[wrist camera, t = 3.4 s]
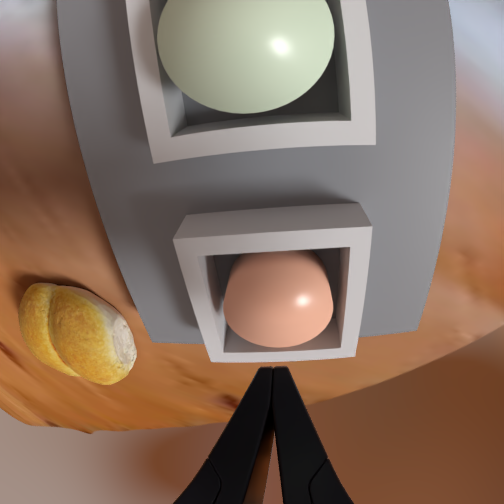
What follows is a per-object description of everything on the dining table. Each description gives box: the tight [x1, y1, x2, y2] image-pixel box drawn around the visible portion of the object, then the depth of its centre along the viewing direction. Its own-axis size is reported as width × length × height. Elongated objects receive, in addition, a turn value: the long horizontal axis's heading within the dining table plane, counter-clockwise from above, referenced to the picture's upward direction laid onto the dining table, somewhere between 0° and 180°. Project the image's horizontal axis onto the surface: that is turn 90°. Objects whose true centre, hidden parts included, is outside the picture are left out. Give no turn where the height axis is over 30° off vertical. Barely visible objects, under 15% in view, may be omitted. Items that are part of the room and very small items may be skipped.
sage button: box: [157, 0, 335, 114], centre depth 6 cm, size 4×4×2 cm
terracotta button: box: [223, 249, 333, 348], centre depth 12 cm, size 4×4×2 cm
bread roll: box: [18, 283, 137, 385], centre depth 18 cm, size 8×9×4 cm
